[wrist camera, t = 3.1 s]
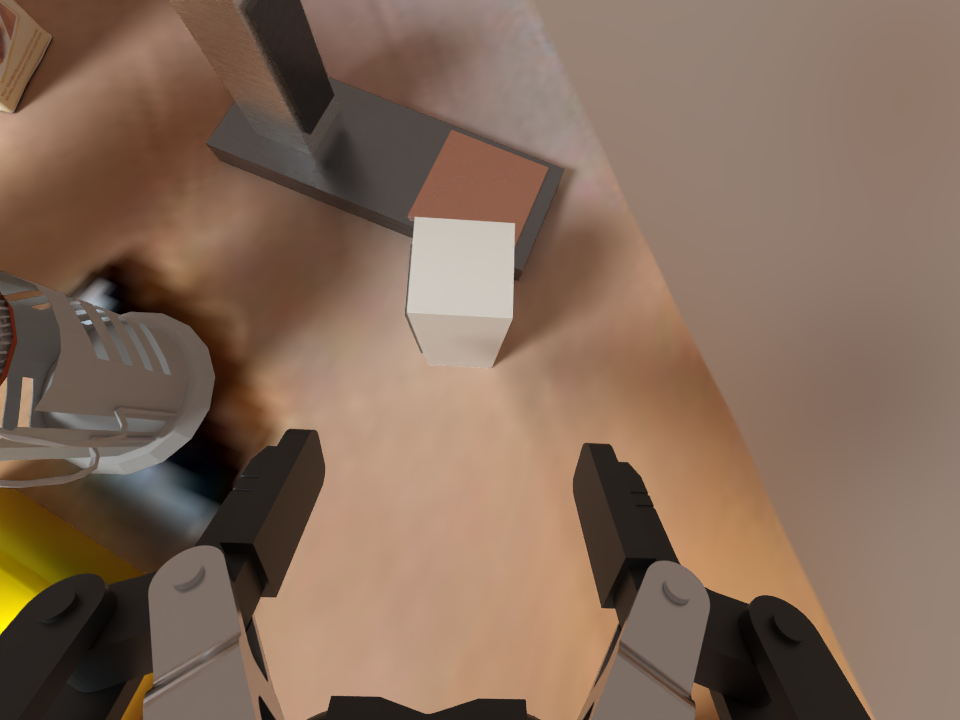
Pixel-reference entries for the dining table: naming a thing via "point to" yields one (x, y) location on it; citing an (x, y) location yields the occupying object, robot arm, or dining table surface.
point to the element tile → (51, 563)
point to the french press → (97, 384)
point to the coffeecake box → (18, 52)
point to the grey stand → (353, 132)
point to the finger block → (460, 289)
